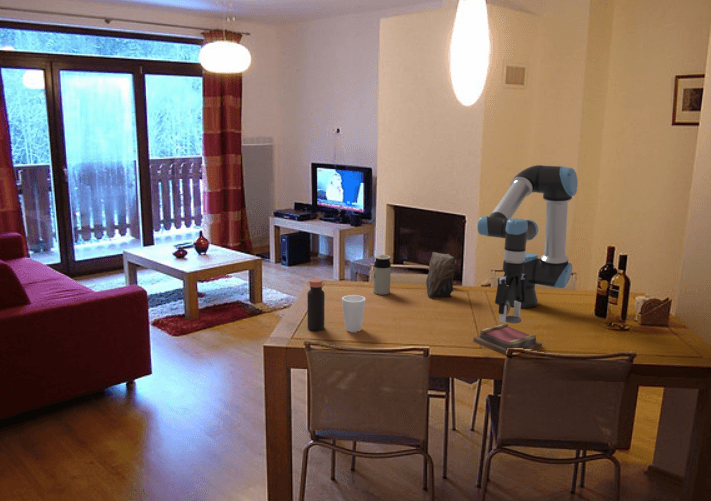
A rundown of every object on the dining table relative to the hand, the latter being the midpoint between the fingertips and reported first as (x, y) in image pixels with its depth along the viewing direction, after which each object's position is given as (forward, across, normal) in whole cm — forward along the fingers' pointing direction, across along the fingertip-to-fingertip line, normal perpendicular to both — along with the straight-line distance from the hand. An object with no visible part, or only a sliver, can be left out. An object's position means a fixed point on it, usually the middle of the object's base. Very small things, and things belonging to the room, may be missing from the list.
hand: (509, 319), depth 225 cm
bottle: (+10, +53, -53) cm, 76 cm away
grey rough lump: (+10, -19, -61) cm, 65 cm away
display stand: (+10, 0, 0) cm, 10 cm away
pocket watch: (0, 0, 0) cm, 1 cm away
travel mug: (+10, +1, -78) cm, 79 cm away
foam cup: (+10, +41, -44) cm, 61 cm away
